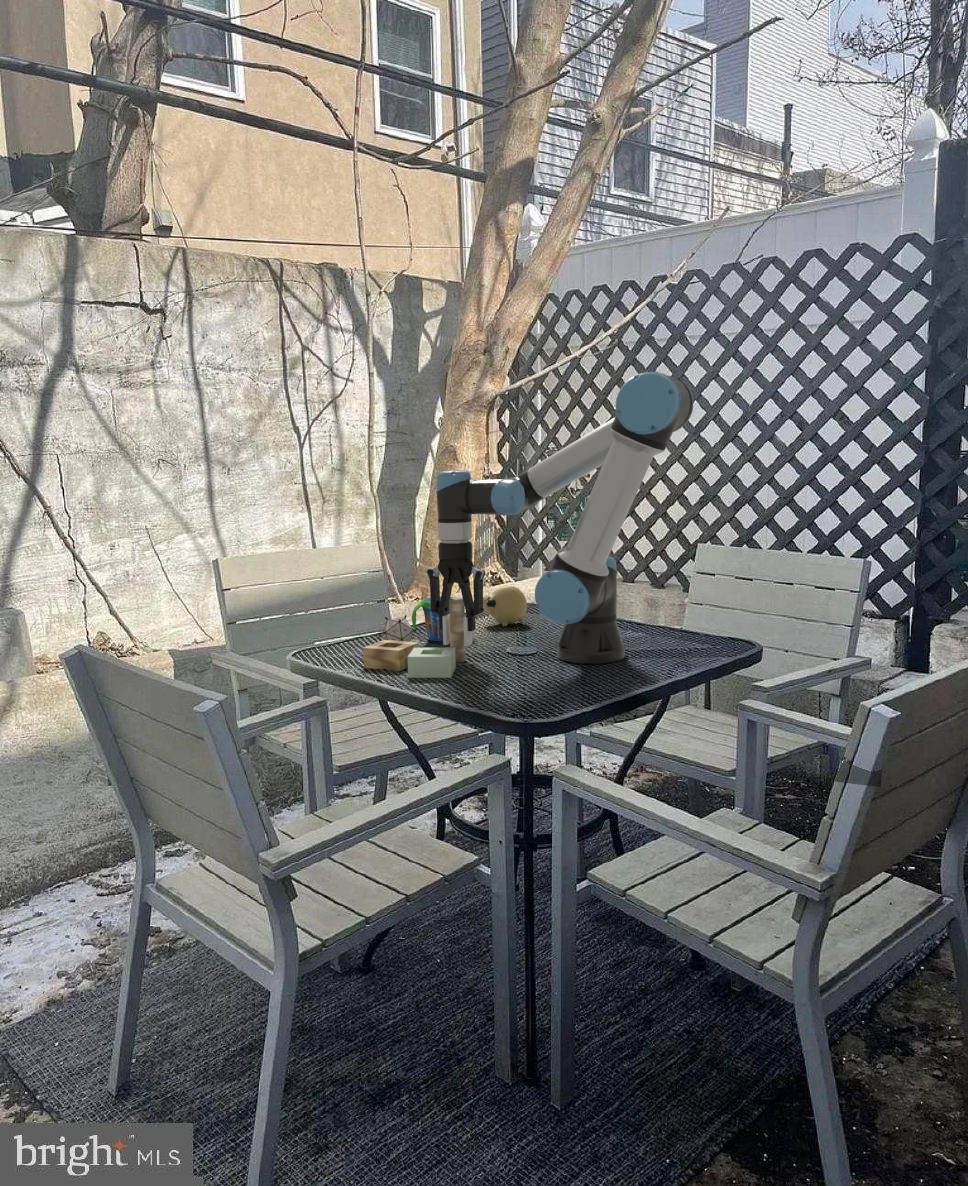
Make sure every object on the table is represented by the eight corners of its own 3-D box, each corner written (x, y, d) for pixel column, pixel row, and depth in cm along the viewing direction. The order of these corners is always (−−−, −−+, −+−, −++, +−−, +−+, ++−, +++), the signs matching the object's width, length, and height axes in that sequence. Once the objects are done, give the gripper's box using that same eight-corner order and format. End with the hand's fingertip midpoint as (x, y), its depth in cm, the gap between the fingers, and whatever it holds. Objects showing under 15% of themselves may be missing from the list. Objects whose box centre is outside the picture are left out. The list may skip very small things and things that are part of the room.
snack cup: (469, 633, 239) (468, 594, 238) (478, 641, 229) (477, 600, 227) (409, 637, 236) (408, 598, 234) (416, 645, 225) (414, 604, 224)
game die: (403, 665, 221) (408, 637, 214) (371, 652, 222) (375, 624, 215) (418, 641, 227) (423, 613, 220) (387, 628, 228) (391, 600, 221)
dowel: (468, 659, 209) (466, 598, 207) (461, 662, 206) (460, 600, 204) (454, 658, 211) (453, 597, 209) (448, 661, 208) (446, 599, 206)
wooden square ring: (419, 662, 208) (418, 642, 207) (399, 670, 199) (398, 650, 199) (384, 659, 211) (384, 639, 211) (363, 667, 203) (363, 647, 202)
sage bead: (455, 667, 201) (455, 647, 201) (450, 677, 192) (450, 656, 192) (414, 667, 202) (414, 647, 201) (408, 677, 193) (407, 656, 192)
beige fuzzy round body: (480, 622, 254) (479, 584, 252) (523, 620, 256) (522, 582, 254) (485, 629, 244) (484, 589, 243) (530, 627, 246) (529, 587, 244)
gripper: (498, 540, 204) (500, 643, 208) (428, 538, 211) (431, 638, 215) (484, 543, 197) (486, 650, 201) (412, 541, 205) (415, 645, 208)
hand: (457, 644), depth 208 cm, fingers open, 4 cm apart
